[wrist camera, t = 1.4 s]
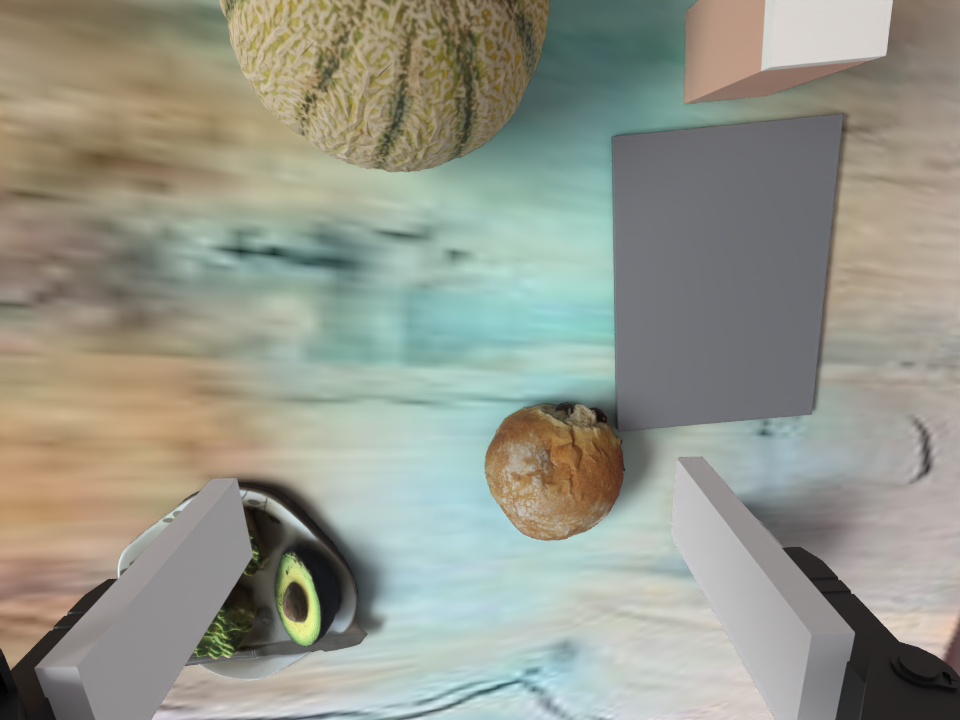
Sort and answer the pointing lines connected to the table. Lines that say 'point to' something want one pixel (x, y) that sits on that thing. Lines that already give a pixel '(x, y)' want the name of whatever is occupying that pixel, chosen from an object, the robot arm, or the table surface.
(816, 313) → the mat
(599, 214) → the table surface
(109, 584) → the robot arm
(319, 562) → the salad plate
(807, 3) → the block
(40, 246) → the table surface
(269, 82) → the cantaloupe
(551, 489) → the bread roll
